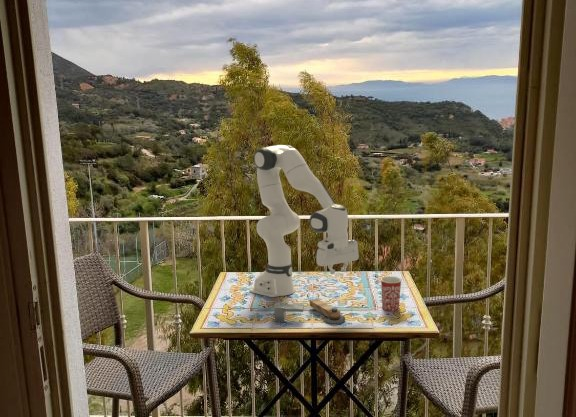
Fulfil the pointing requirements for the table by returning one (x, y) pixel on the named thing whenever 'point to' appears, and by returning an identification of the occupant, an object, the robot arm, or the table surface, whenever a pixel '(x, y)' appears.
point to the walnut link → (325, 309)
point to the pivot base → (331, 321)
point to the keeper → (285, 310)
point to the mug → (390, 293)
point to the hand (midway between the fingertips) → (338, 272)
